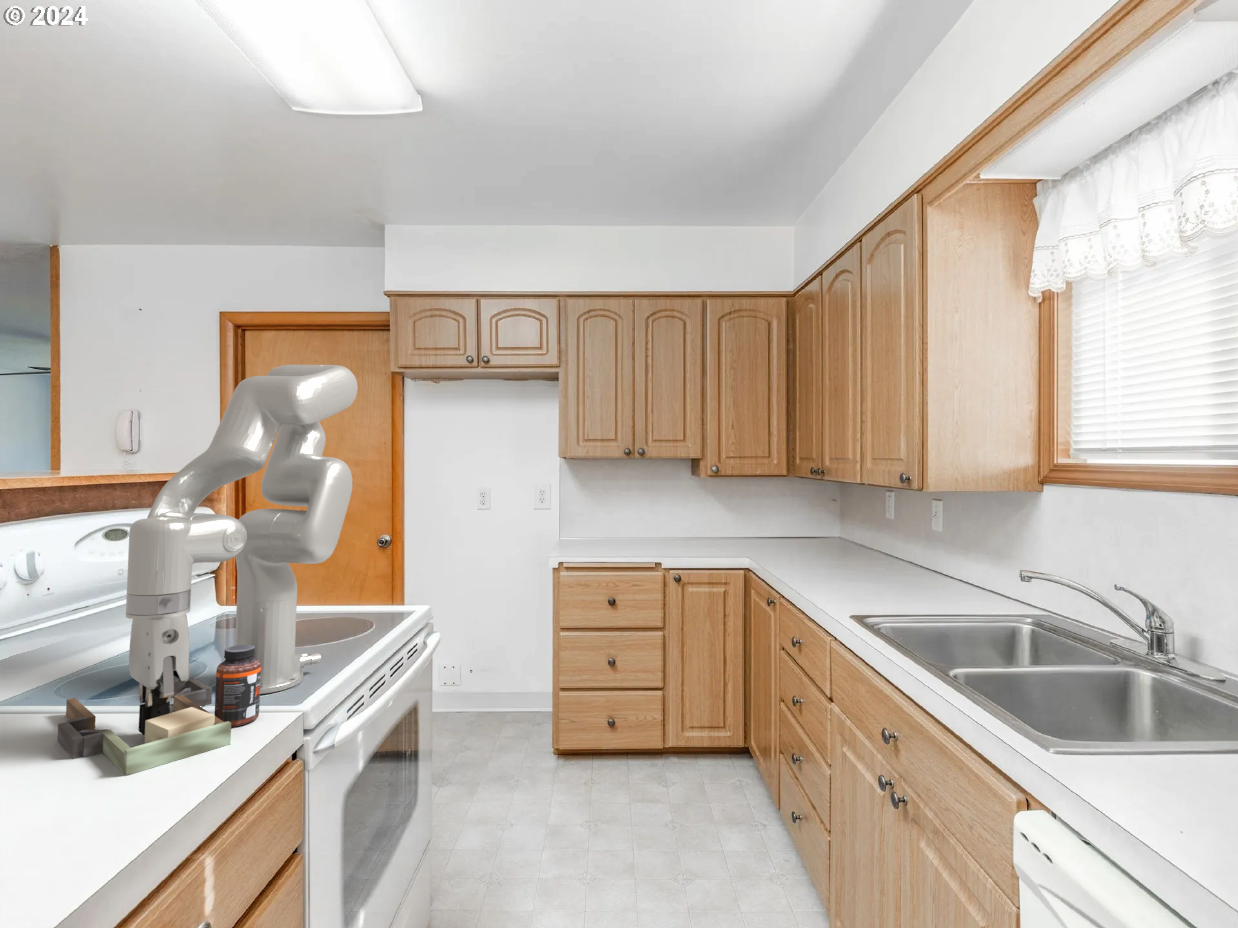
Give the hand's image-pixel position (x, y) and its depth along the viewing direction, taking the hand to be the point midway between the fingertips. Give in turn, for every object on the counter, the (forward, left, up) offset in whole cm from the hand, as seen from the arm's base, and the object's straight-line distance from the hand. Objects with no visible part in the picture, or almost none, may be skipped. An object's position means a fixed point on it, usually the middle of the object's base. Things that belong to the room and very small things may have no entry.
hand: (153, 730), depth 90 cm
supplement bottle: (-10, +2, -1) cm, 10 cm away
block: (-2, +5, -1) cm, 5 cm away
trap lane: (0, -4, -1) cm, 4 cm away
